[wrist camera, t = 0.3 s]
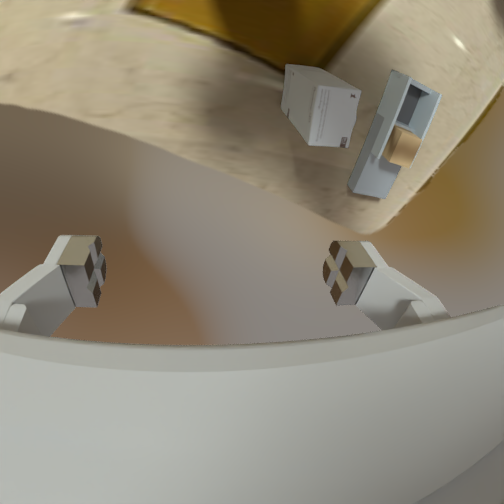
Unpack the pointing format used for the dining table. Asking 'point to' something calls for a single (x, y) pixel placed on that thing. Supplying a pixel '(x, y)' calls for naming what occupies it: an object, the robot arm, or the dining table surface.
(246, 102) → the dining table surface
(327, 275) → the robot arm
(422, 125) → the trap trough
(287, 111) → the skincare box
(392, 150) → the oak block
